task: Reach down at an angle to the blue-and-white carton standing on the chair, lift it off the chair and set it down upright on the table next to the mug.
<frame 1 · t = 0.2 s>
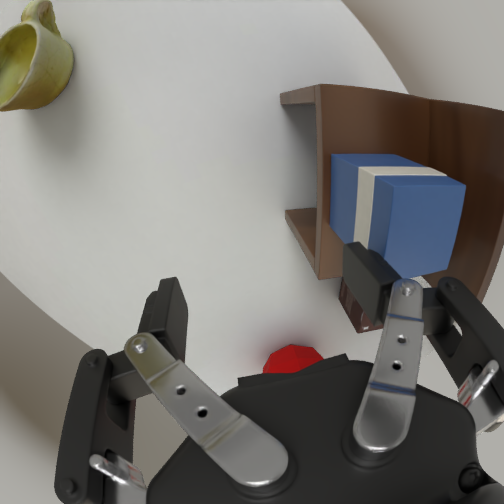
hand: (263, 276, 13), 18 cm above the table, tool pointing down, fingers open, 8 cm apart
box: (359, 278, 37), on the table
chair: (328, 156, 28), on the table
mug: (51, 57, 18), on the table
apple: (289, 356, 43), on the table
carton: (363, 189, 17), point 12 cm above the table, touching gripper, chair
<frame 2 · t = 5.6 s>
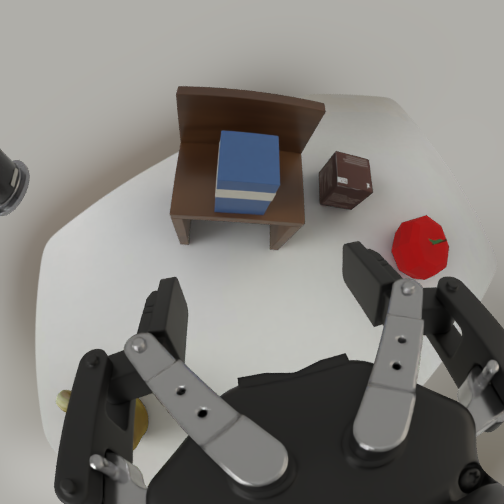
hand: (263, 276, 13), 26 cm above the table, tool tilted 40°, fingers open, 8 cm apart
box: (334, 192, 45), on the table
chair: (231, 214, 41), on the table
mug: (110, 406, 32), on the table
apple: (405, 254, 44), on the table
carton: (239, 191, 29), point 12 cm above the table, touching chair
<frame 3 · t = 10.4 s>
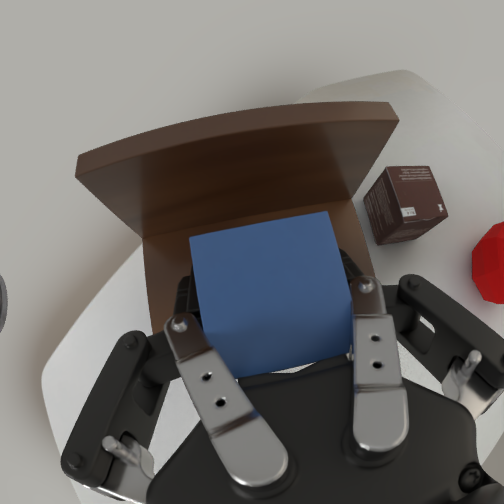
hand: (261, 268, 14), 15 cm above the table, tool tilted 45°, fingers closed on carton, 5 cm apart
box: (389, 219, 30), on the table
chair: (259, 299, 28), on the table
apple: (484, 272, 28), on the table
carton: (267, 309, 16), point 12 cm above the table, touching gripper, chair
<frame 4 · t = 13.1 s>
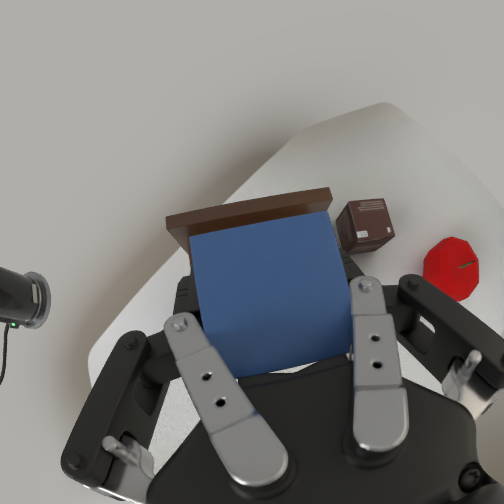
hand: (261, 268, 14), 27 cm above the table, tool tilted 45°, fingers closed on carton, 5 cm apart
box: (355, 236, 43), on the table
chair: (259, 292, 40), on the table
apple: (437, 275, 40), on the table
carton: (267, 309, 16), point 24 cm above the table, touching gripper
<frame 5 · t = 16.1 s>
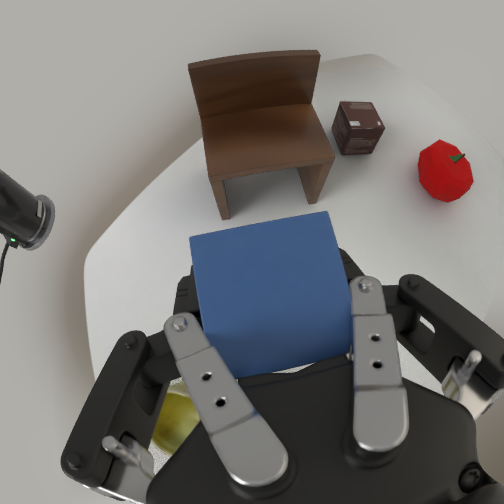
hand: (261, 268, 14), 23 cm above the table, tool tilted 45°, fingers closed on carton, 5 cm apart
box: (350, 142, 43), on the table
chair: (262, 181, 41), on the table
mug: (183, 405, 33), on the table
apple: (433, 183, 41), on the table
carton: (267, 309, 16), point 21 cm above the table, touching gripper
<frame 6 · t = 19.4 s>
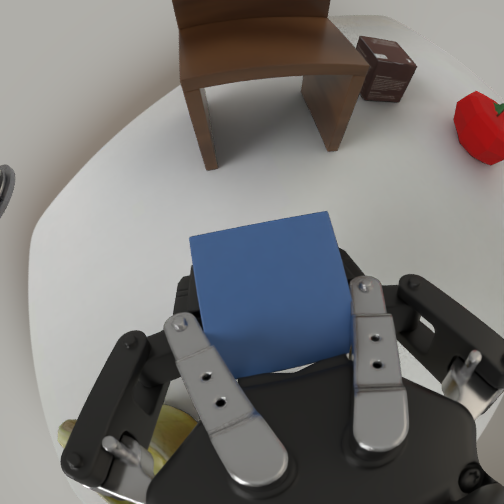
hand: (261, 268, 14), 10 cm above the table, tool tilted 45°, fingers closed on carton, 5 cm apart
box: (373, 89, 31), on the table
chair: (263, 124, 29), on the table
mug: (148, 436, 20), on the table
apple: (471, 143, 29), on the table
carton: (267, 309, 16), point 8 cm above the table, touching gripper
when the fingers open (3 cm above the table, at t = 22.0 s): carton stays where it is, on the table.
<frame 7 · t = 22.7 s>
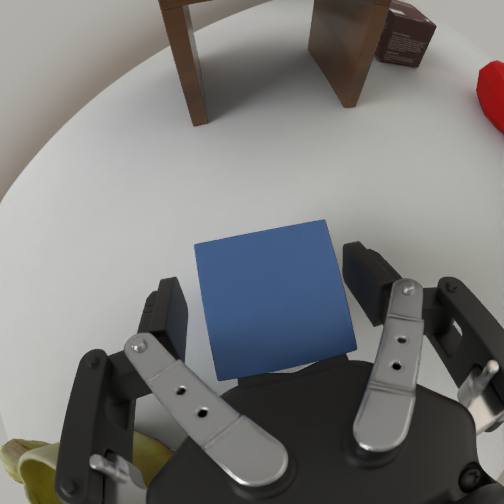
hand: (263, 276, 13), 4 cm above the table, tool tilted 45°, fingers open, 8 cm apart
box: (388, 53, 24), on the table
chair: (265, 77, 22), on the table
mug: (116, 465, 13), on the table
apple: (495, 117, 22), on the table
carton: (268, 311, 16), on the table
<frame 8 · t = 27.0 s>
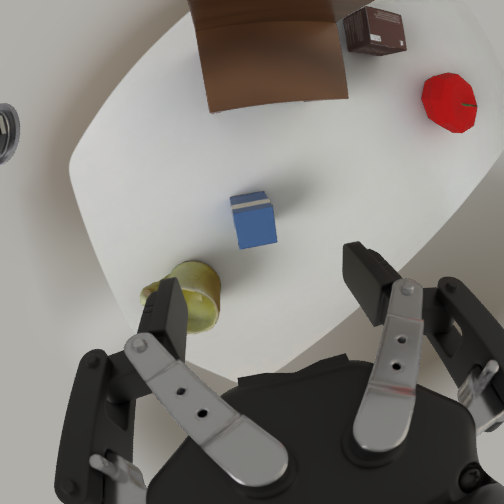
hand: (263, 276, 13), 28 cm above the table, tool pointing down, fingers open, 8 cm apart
box: (361, 37, 30), on the table
chair: (257, 72, 32), on the table
mug: (183, 279, 46), on the table
apple: (434, 100, 35), on the table
carton: (249, 209, 41), on the table
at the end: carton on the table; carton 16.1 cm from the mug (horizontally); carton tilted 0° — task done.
